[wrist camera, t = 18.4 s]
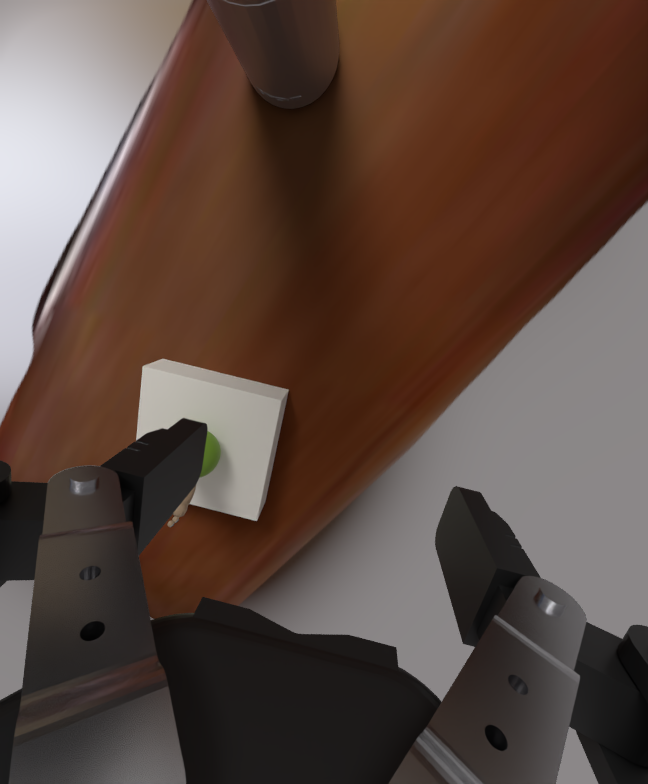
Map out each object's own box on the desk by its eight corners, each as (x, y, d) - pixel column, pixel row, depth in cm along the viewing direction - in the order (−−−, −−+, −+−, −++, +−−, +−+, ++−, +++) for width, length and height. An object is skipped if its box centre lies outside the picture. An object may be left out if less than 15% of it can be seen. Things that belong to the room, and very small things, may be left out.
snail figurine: (213, 480, 45) (155, 542, 33) (175, 441, 44) (102, 491, 33) (243, 452, 43) (193, 508, 32) (204, 412, 43) (138, 453, 31)
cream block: (165, 357, 47) (142, 366, 42) (289, 388, 46) (281, 400, 41) (153, 470, 51) (131, 489, 46) (266, 499, 51) (256, 521, 46)
